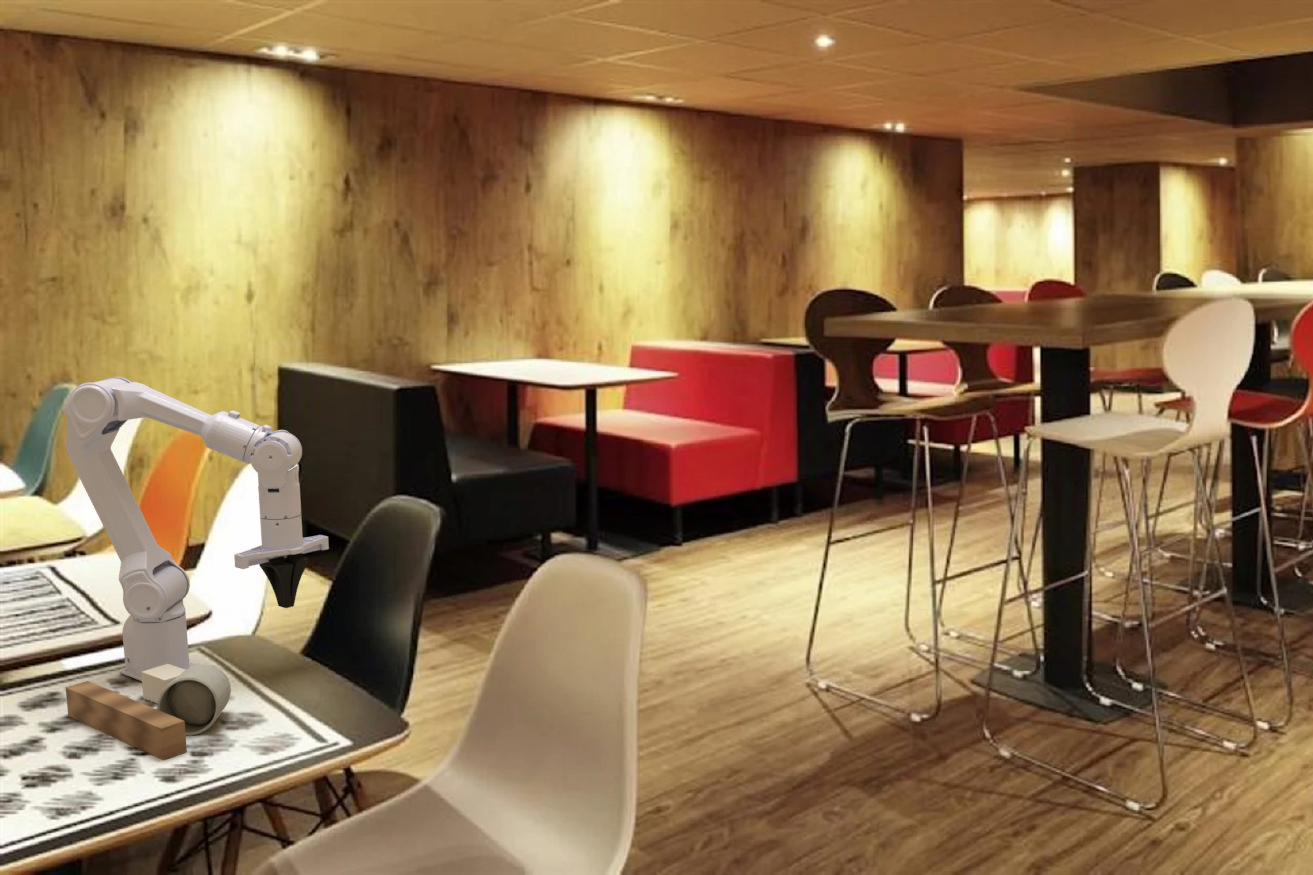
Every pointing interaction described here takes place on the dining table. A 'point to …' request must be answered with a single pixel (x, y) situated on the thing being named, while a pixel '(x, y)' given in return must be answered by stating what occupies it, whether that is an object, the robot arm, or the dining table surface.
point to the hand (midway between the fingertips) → (286, 606)
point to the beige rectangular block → (158, 680)
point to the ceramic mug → (196, 697)
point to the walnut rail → (127, 719)
